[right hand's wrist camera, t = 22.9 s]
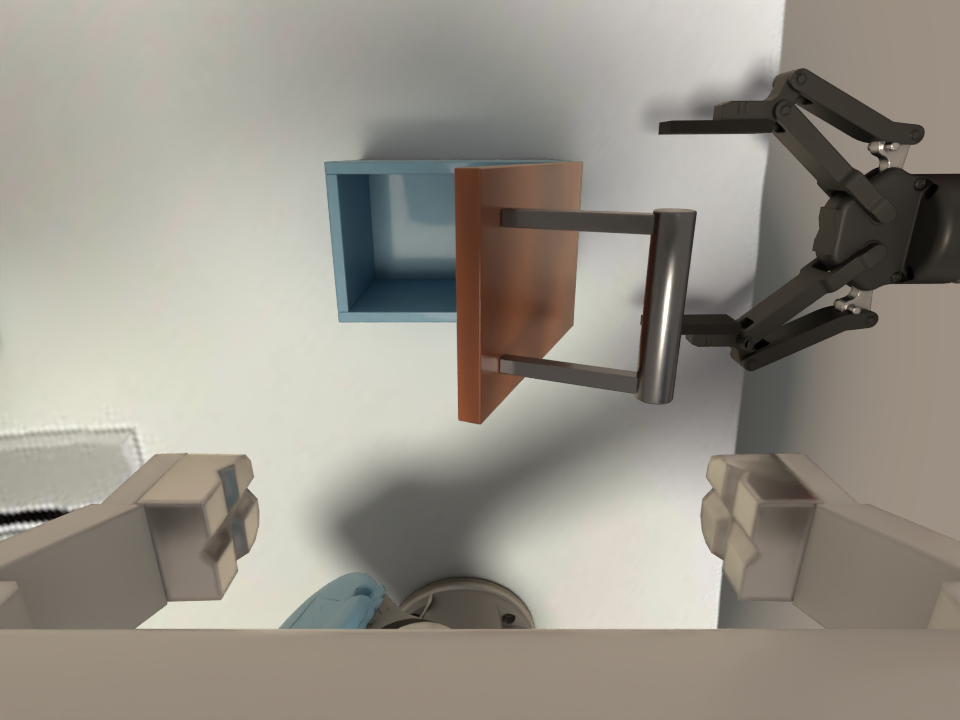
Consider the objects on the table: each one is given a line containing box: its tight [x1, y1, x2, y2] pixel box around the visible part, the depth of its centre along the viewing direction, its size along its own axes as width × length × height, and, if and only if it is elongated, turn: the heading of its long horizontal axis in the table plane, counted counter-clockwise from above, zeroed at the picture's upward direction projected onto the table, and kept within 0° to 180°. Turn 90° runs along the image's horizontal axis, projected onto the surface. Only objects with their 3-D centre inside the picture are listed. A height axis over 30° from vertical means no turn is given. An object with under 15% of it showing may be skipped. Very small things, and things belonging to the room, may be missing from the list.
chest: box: [324, 159, 571, 322], centre depth 41 cm, size 15×10×11 cm
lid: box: [454, 162, 697, 424], centre depth 27 cm, size 15×10×8 cm
